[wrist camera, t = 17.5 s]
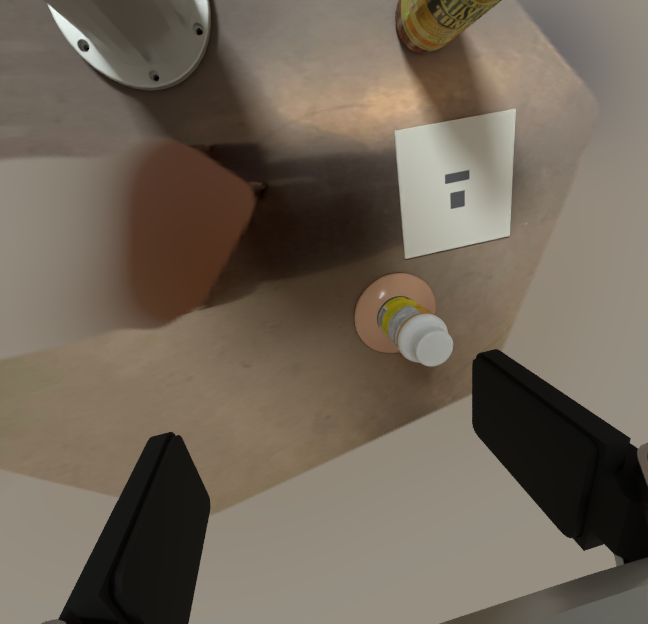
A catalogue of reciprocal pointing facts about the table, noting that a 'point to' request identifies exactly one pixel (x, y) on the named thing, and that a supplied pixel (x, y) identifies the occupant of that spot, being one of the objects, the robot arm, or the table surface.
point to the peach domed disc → (377, 295)
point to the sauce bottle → (436, 21)
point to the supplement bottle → (414, 331)
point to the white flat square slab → (455, 182)
